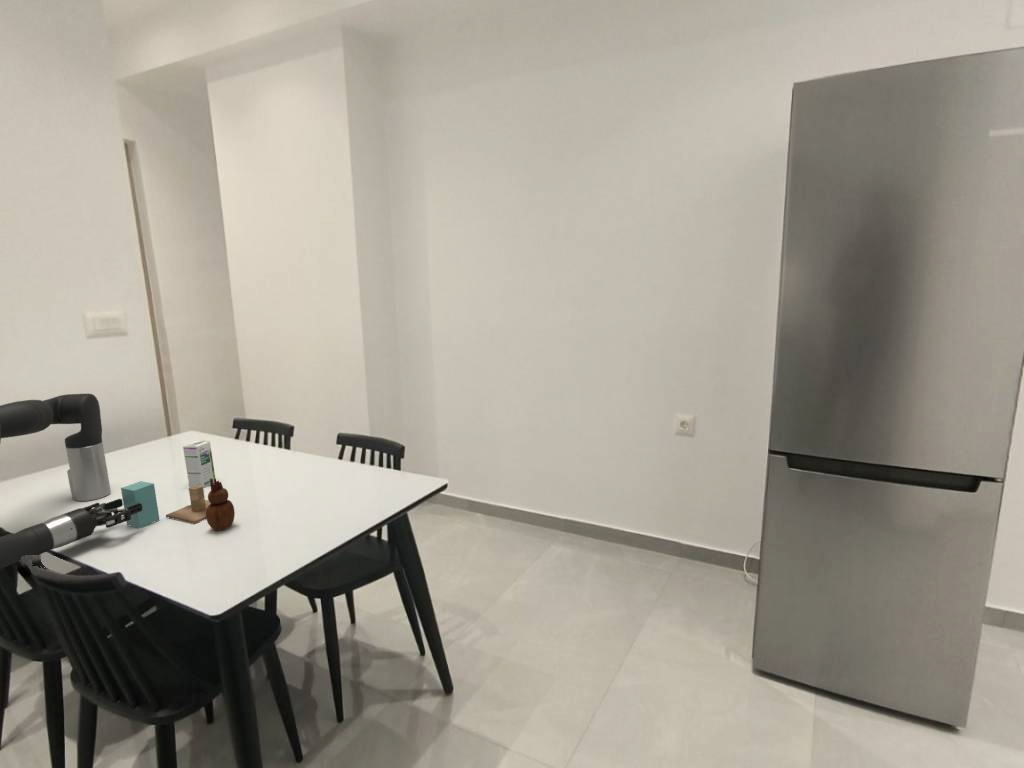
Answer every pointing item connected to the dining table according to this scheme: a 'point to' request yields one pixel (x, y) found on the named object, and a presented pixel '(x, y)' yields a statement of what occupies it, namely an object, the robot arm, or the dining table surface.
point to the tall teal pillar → (144, 496)
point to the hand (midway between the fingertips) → (131, 504)
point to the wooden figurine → (219, 507)
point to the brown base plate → (193, 507)
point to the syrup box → (199, 463)
